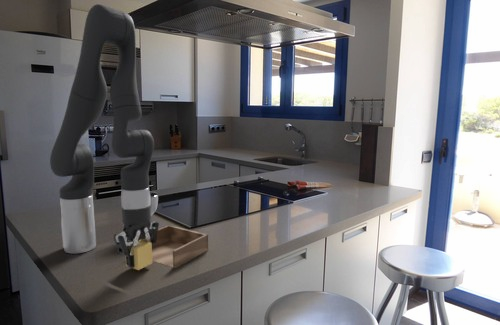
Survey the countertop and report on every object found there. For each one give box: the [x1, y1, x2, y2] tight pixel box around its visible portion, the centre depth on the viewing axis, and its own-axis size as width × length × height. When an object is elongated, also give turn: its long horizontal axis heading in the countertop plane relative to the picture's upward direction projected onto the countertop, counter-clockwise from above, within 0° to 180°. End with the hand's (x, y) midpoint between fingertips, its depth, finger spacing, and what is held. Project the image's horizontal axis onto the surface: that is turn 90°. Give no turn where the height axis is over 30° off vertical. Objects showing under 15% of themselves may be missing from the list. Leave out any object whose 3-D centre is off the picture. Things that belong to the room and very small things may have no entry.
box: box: [152, 224, 209, 269], centre depth 108 cm, size 17×15×6 cm
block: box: [124, 240, 153, 271], centre depth 97 cm, size 5×5×6 cm
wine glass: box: [148, 191, 159, 232], centre depth 122 cm, size 8×8×15 cm
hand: (138, 262), depth 98 cm, fingers closed on block, 4 cm apart
